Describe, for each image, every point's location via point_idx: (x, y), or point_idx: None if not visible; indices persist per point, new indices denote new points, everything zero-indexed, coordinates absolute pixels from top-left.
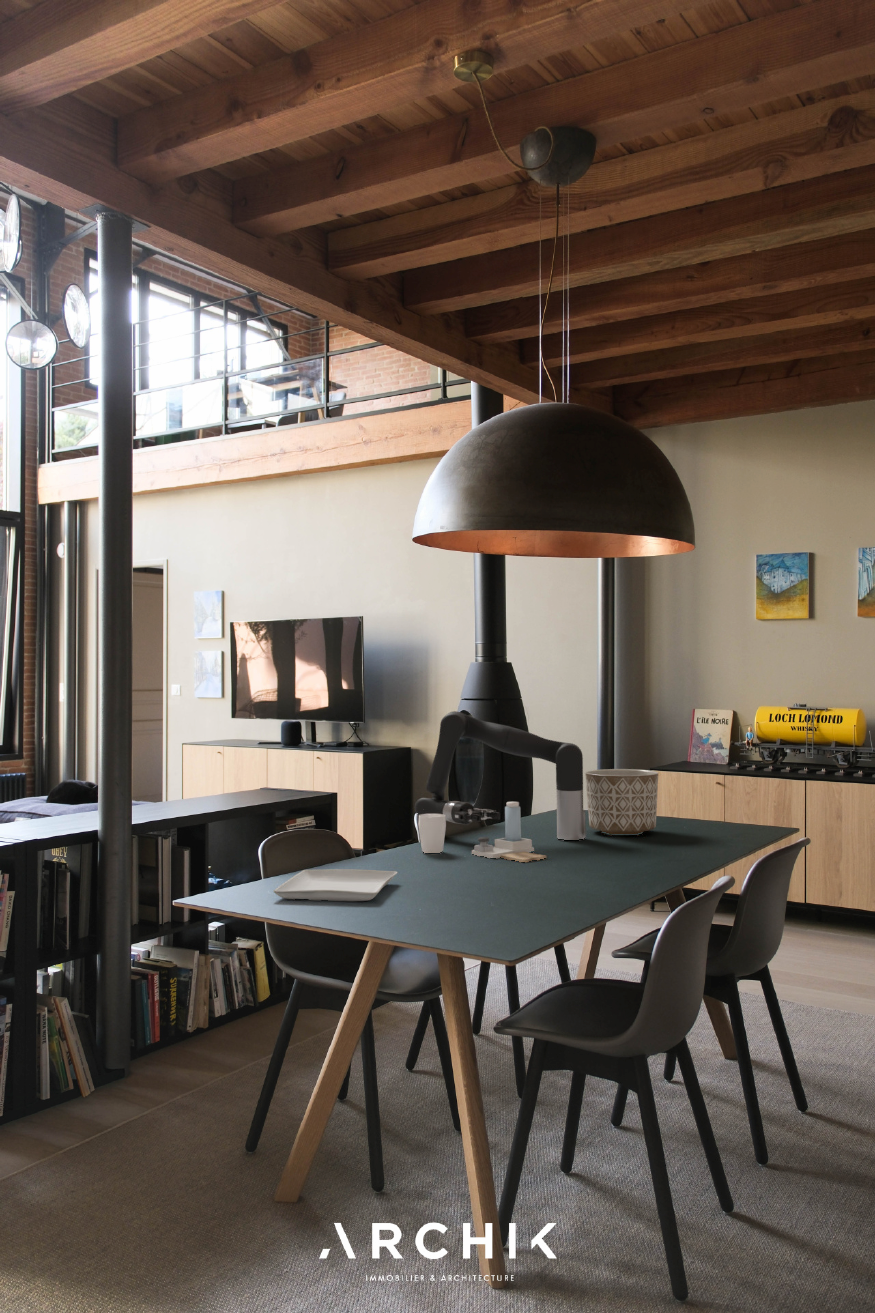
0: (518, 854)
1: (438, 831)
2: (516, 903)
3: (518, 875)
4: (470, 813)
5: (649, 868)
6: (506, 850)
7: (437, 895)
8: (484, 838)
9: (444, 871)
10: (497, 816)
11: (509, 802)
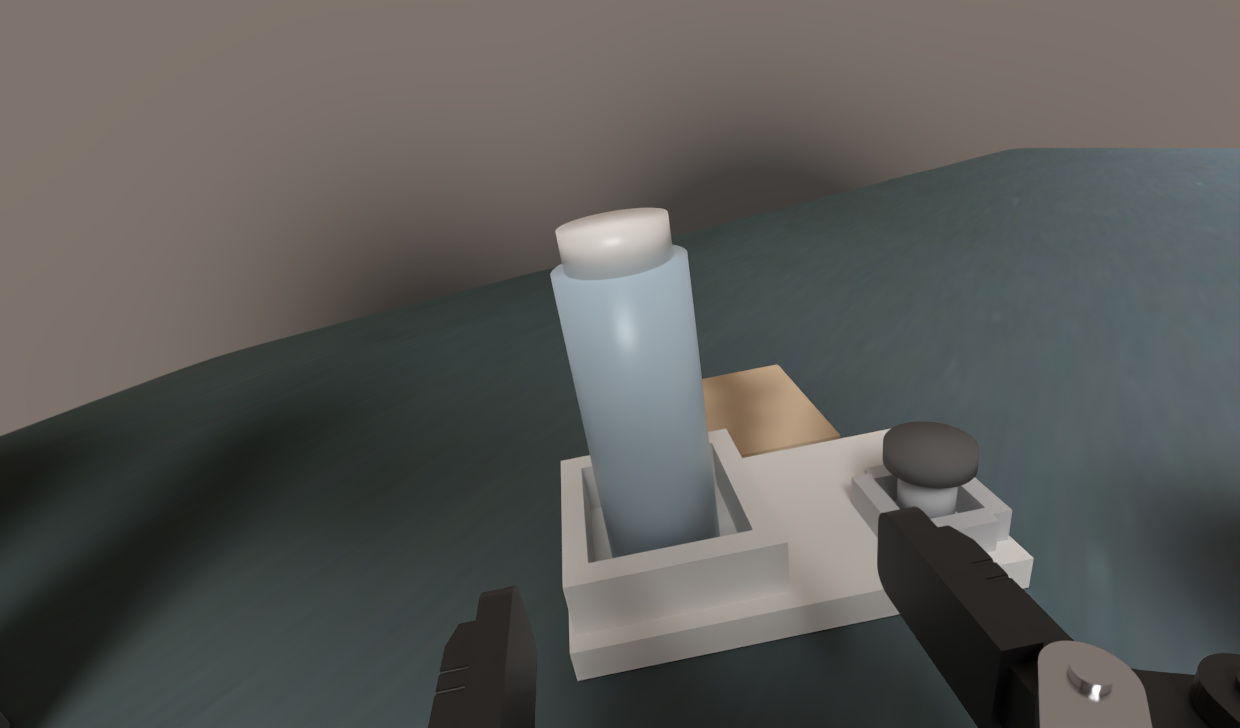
0: (738, 428)
1: None
2: (960, 204)
3: (878, 290)
4: (1093, 660)
5: (514, 303)
6: (766, 477)
7: (1170, 216)
8: (925, 434)
9: (1206, 337)
10: (527, 640)
11: (637, 219)
